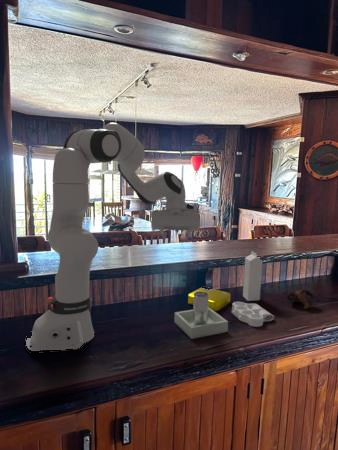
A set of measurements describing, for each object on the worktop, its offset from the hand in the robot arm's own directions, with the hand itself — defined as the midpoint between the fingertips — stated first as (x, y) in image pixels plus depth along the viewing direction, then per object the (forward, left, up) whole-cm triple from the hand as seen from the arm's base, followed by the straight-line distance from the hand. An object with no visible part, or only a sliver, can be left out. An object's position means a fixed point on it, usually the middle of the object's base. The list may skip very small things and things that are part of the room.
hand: (175, 237), depth 135 cm
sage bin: (+3, -17, -31) cm, 36 cm away
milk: (+40, +1, -32) cm, 51 cm away
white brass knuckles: (+27, -16, -32) cm, 45 cm away
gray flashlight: (+3, -17, -31) cm, 35 cm away
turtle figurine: (+55, -14, -32) cm, 65 cm away
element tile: (+19, +3, -32) cm, 37 cm away
